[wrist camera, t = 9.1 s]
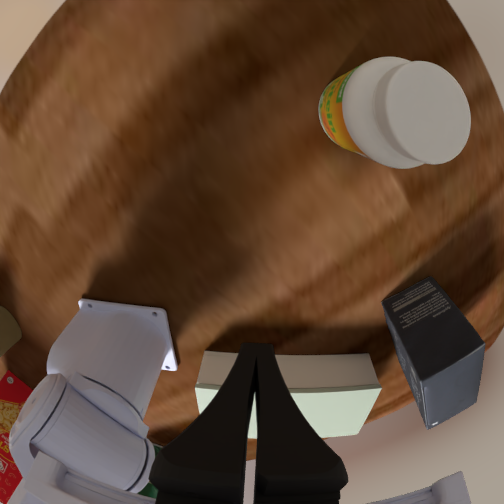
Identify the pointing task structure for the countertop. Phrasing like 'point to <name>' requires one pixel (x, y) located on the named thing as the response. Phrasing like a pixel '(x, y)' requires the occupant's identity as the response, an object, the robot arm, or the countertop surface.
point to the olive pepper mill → (8, 331)
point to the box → (435, 350)
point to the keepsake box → (299, 370)
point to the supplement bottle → (397, 112)
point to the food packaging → (3, 417)
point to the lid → (317, 407)
